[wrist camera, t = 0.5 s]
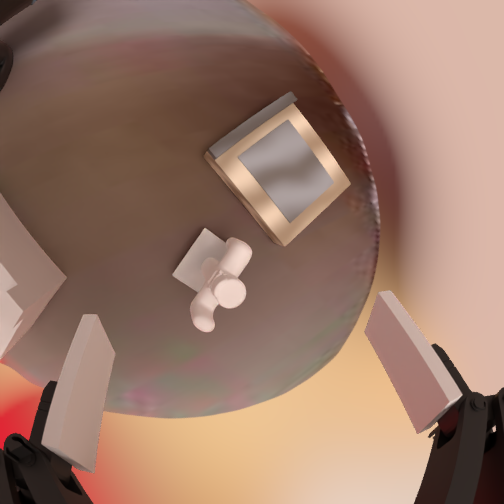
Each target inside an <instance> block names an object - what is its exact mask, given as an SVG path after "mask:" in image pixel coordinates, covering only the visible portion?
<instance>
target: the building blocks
mask: <svg viewBox="0 0 504 504" xmlns="http://www.w3.org/2000/svg"><path fill="white" fill-rule="evenodd" d="M66 278H67V277H66V276H65V275H64V274H63V273H62V271H61V270H60V269H59V268H58V267H57V266H56V265H55V264H54V262H53V261H52V260H51V259H50V258H49V257H48V255H47V254H46V253H45V252H44V251H43V250H42V248H41V247H40V246H39V245H38V243H37V242H36V241H35V240H34V238H33V237H32V236H31V235H30V233H29V232H28V231H27V229H26V228H25V227H24V226H23V224H22V223H21V222H20V220H19V219H18V217H17V216H16V215H15V213H14V212H13V210H12V209H11V208H10V206H9V205H8V203H7V202H6V200H5V199H4V197H3V196H2V194H1V193H0V360H1V359H2V358H3V356H4V355H5V354H6V353H7V352H8V351H9V350H10V349H11V348H12V347H13V346H14V345H15V344H16V342H17V341H18V340H19V339H20V338H21V337H22V336H23V335H24V334H25V333H26V332H27V331H28V330H29V329H30V328H31V327H32V325H33V324H34V322H35V321H36V319H37V318H38V317H39V315H40V314H41V312H42V311H43V309H44V308H45V307H46V305H47V304H48V302H49V301H50V300H51V298H52V297H53V296H54V294H55V293H56V291H57V290H58V289H59V288H60V286H61V285H62V284H63V282H64V281H65V280H66Z"/></svg>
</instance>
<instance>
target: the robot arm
mask: <svg viewBox="0 0 504 504" xmlns="http://www.w3.org/2000/svg"><path fill="white" fill-rule="evenodd" d="M36 1H37V0H0V26H1V25H2V24H3V23H5V22H6V21H7V20H9V19H10V18H12V17H13V16H14V15H16V14H17V13H19V12H20V11H22V10H23V9H25V8H26V7H28V6H30V5H32V4H33V3H35V2H36ZM12 62H13V53H12V50H11V49H10V47H9V46H8V45H7V44H6V43H5V42H3V41H1V40H0V91H1V89H2V87H3V86H4V84H5V82H6V80H7V78H8V75H9V73H10V70H11V67H12ZM365 334H366V336H367V337H368V339H369V341H370V343H371V344H372V346H373V348H374V350H375V352H376V354H377V355H378V357H379V359H380V361H381V363H382V365H383V367H384V368H385V370H386V372H387V374H388V376H389V378H390V380H391V382H392V384H393V386H394V387H395V389H396V392H397V393H398V395H399V397H400V399H401V401H402V403H403V405H404V407H405V409H406V411H407V413H408V415H409V418H410V420H411V422H412V424H413V426H414V428H415V430H416V432H417V434H419V433H421V432H423V431H425V430H427V429H429V428H431V427H432V426H433V425H434V424H435V423H436V422H438V424H439V425H438V426H437V427H436V428H435V429H434V430H433V431H432V432H431V433H430V434H429V436H428V437H429V438H430V437H431V436H433V435H434V434H435V436H434V437H433V439H434V441H433V445H432V449H431V453H430V457H429V461H428V464H427V467H426V471H425V474H424V477H423V480H422V483H421V486H420V489H419V491H418V494H417V497H416V499H415V502H414V504H504V388H502V389H501V390H500V391H499V392H498V393H497V394H496V395H490V396H483V395H482V394H480V393H478V392H472V391H471V390H470V389H469V387H468V386H467V384H466V383H465V381H464V380H463V378H462V377H461V375H460V373H459V372H458V370H457V369H456V367H454V364H453V363H452V361H451V360H449V359H450V358H449V357H448V356H447V354H446V353H445V351H444V350H443V349H442V348H441V347H439V346H438V345H437V344H433V345H430V343H429V342H428V341H427V339H426V338H425V336H424V335H423V333H422V332H421V331H420V329H419V328H418V326H417V325H416V323H415V322H414V321H413V319H412V318H411V317H410V315H409V314H408V313H407V311H406V310H405V309H404V307H403V306H402V305H401V303H400V302H399V301H398V300H397V298H396V297H395V295H394V294H393V293H392V291H391V290H389V291H383V292H378V294H377V297H376V301H375V303H374V306H373V309H372V312H371V315H370V318H369V321H368V323H367V326H366V329H365ZM114 358H115V352H114V350H113V348H112V346H111V343H110V341H109V339H108V337H107V335H106V333H105V331H104V328H103V326H102V324H101V322H100V319H99V317H98V315H97V314H83V316H82V319H81V321H80V324H79V326H78V328H77V331H76V333H75V336H74V338H73V341H72V343H71V346H70V349H69V351H68V354H67V357H66V359H65V362H64V365H63V368H62V371H61V374H60V377H59V380H58V382H56V381H50V382H49V383H48V384H47V386H46V387H45V388H44V390H43V393H42V396H41V402H40V403H39V406H38V410H37V413H36V416H35V420H34V424H33V428H32V431H31V436H30V439H29V441H28V440H27V439H26V438H24V437H23V436H22V435H21V434H17V433H14V434H11V435H9V436H8V437H7V438H6V440H5V442H4V450H2V449H0V504H93V502H92V501H91V499H90V498H89V497H88V495H87V494H86V492H85V490H84V489H83V487H82V486H81V484H80V483H79V481H78V479H77V478H76V476H75V474H74V473H73V472H72V471H71V468H72V466H74V467H75V468H77V469H79V470H82V471H87V472H91V473H95V464H96V456H97V448H98V440H99V434H100V433H99V432H100V427H101V421H102V415H103V409H104V404H105V399H106V394H107V389H108V384H109V379H110V375H111V370H112V366H113V362H114ZM495 425H496V431H495V432H493V430H492V428H493V427H494V426H495Z"/></svg>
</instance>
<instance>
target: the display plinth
mask: <svg viewBox="0 0 504 504" xmlns="http://www.w3.org/2000/svg"><path fill="white" fill-rule="evenodd" d="M296 100H297V98H296V97H295V96H294V95H293V93H292V92H291V91H290V92H289V93H287V94H285V95H284V96H282V97H281V98H279V99H278V100H276V101H274V102H273V103H271V104H270V105H268V106H267V107H265V108H264V109H262V110H261V111H260V112H258V113H257V114H255V115H254V116H252V117H251V118H249V119H248V120H247V121H245V122H244V123H242V124H241V125H239V126H238V127H237V128H235V129H234V130H233V131H231V132H230V133H229V134H227V135H226V136H224V137H223V138H222V139H220V140H219V141H218V142H217V143H215V144H214V145H213V146H211V147H210V148H209V149H208V150H207V152H206V153H205V155H204V156H203V157H204V159H205V160H206V161H207V162H208V163H209V164H210V166H211V167H212V168H213V169H214V170H215V172H216V173H217V174H218V175H219V176H220V178H221V179H222V180H223V181H224V182H225V184H226V185H227V186H228V187H229V188H230V190H231V191H232V192H233V193H234V194H235V196H236V197H237V198H238V199H239V201H240V202H241V203H242V204H243V205H244V207H245V208H246V209H247V210H248V211H249V213H250V214H251V215H252V216H253V218H254V219H255V220H256V221H257V223H258V224H259V225H260V226H261V227H262V229H263V230H264V231H265V232H266V234H267V235H268V236H269V237H270V239H271V240H272V241H273V242H274V243H275V244H278V245H281V246H284V247H285V246H286V245H287V244H288V243H289V242H290V241H291V240H292V239H294V238H295V237H296V236H297V235H298V234H299V233H300V232H301V231H302V230H303V229H304V228H305V227H306V226H307V225H308V224H309V223H310V222H312V221H313V220H314V219H315V218H316V217H317V216H318V215H319V214H320V213H321V212H322V211H323V210H324V209H325V208H326V207H327V206H328V205H329V204H330V203H331V202H333V201H334V200H335V199H336V198H337V197H338V196H339V195H340V194H341V193H342V192H343V191H344V190H345V189H346V188H347V187H348V186H349V185H350V184H351V183H350V182H349V180H348V179H347V177H346V175H345V174H344V172H343V171H342V169H341V168H340V166H339V165H338V163H337V162H336V160H335V159H334V158H333V156H332V155H331V153H330V152H329V150H328V149H327V147H326V146H325V145H324V143H323V142H322V140H321V139H320V138H319V136H318V135H317V134H316V132H315V131H314V130H313V128H312V127H311V126H310V124H309V123H308V122H307V120H306V119H305V118H304V116H303V115H302V114H301V113H300V111H299V110H298V109H297V107H296V106H295V105H294V104H293V103H294V102H295V101H296Z"/></svg>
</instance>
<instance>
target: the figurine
mask: <svg viewBox="0 0 504 504" xmlns="http://www.w3.org/2000/svg"><path fill="white" fill-rule="evenodd" d="M251 256H252V250H251V248H250V246H249V245H248V244H246V243H245V242H243V241H241V240H239V239H237V238H233V237H231V238H229V239H227V241H226V243H225V242H224V241H223V240H221V239H220V238H218V237H217V236H216V235H214V234H213V233H211V232H210V231H209V230H207V229H206V228H204V230H203V231H202V233H201V234H200V235H199V237H198V238H197V240H196V241H195V242H194V244H193V245H192V247H191V248H190V250H189V251H188V252H187V254H186V255H185V257H184V258H183V260H182V261H181V263H180V264H179V266H178V267H177V269H176V270H175V271H174V273H173V274H172V276H174V277H175V278H177V279H178V280H180V281H181V282H183V283H184V284H186V285H187V286H189V287H190V288H192V289H193V290H195V291H196V292H198V294H197V295H196V296H195V298H194V299H193V301H192V303H191V305H190V313H191V317H192V321H193V324H194V325H195V326H196V327H197V328H198V329H199V330H201V331H204V332H210V331H212V330H213V329H214V327H215V323H214V320H213V312H214V309H215V308H216V306H217V305H219V304H220V305H221V306H223V307H225V308H235V307H237V306H239V305H240V304H241V303H242V302H243V300H244V299H245V296H246V288H245V285H244V284H243V283H242V282H241V281H240V280H239V279H238V276H239V275H240V274H241V272H242V271H243V269H244V268H245V267H246V265H247V264H248V262H249V261H250V258H251Z"/></svg>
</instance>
